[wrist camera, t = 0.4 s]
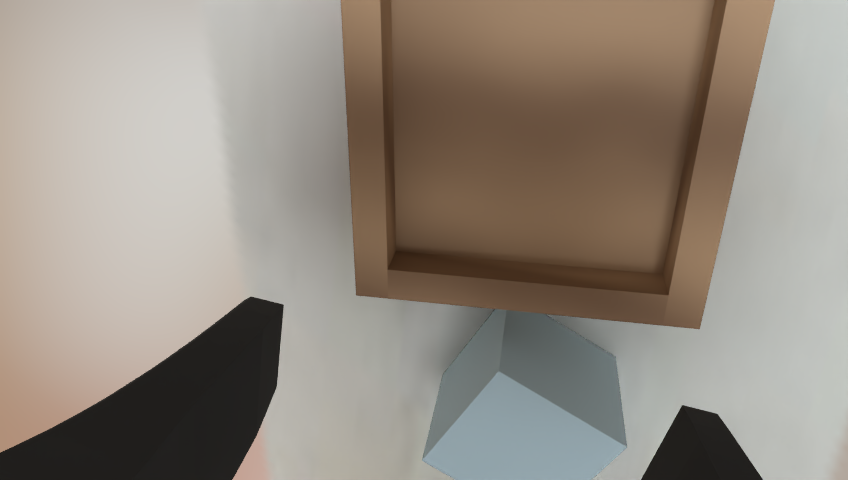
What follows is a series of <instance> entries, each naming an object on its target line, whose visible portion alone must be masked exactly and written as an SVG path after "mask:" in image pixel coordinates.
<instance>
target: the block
mask: <svg viewBox="0 0 848 480" xmlns="http://www.w3.org/2000/svg"><path fill="white" fill-rule="evenodd" d="M626 448H627V443H626V435H625V427H624V419H623V411H622V403H621V395H620V387H619V379H618V372H617V364H616V357H615V356H613V355H611V354H610V353H608V352H606V351H605V350H603V349H601V348H600V347H598V346H596V345H595V344H593V343H592V342H590V341H588V340H587V339H585V338H583V337H582V336H580V335H578V334H577V333H575V332H573V331H572V330H570V329H568V328H567V327H565V326H563V325H562V324H560V323H559V322H557V321H555V320H554V319H552V318H550V317H549V316H547V315H545V314H541V313H531V312H521V311H511V310H501V309H495V310H494V311H493V312H492V314H491V315H490V316H489V318H488V319H487V320H486V321H485V323H484V324H483V325H482V326H481V328H480V329H479V330H478V331H477V333H476V334H475V335H474V336H473V338H472V339H471V340H470V341H469V343H468V344H467V345H466V346H465V348H464V349H463V350H462V351H461V353H460V354H459V355H458V356H457V358H456V359H455V360H454V361H453V363H452V364H451V365H450V366H449V368H448V369H447V370H446V371H445V373H444V374H443V376H442V380H441V384H440V389H439V393H438V397H437V401H436V405H435V409H434V413H433V417H432V422H431V426H430V430H429V434H428V438H427V442H426V446H425V450H424V454H423V459H422V461H424V462H425V463H427V464H429V465H431V466H432V467H434V468H436V469H438V470H439V471H441V472H443V473H445V474H446V475H448V476H450V477H452V478H453V479H455V480H592V479H593V478H594V477H595V476H596V475H597V474H598V473H599V472H600V471H602V470H603V469H604V468H605V467H606V466H607V465H608V464H609V463H610V462H611V461H612V460H614V459H615V458H616V457H617V456H618V455H619V454H620V453H621V452H622V451H623V450H624V449H626Z"/></svg>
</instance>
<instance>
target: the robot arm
mask: <svg viewBox="0 0 848 480" xmlns="http://www.w3.org/2000/svg"><path fill="white" fill-rule="evenodd" d="M283 306H284V305H282V304H278V303H274V302H270V301H267V300H263V299H259V298H255V297H249V298H248V299H246V300H244V301H243V302H242V303H240V304H239V305H238V306H237V307H235V308H234V309H233V310H231V311H230V312H229V313H228V314H227V315H225V316H224V317H222V318H221V319H220V320H219V321H217V322H216V323H215V324H213V325H212V326H211V327H210V328H208V329H207V330H205V331H204V332H203V333H201V334H200V335H199V336H197V337H196V338H195V339H193V340H192V341H191V342H189V343H188V344H187V345H185V346H183V347H182V348H181V349H179V350H178V351H177V352H175V353H174V354H172V355H171V356H170V357H168V358H167V359H165V360H164V361H162V362H161V363H159V364H158V365H157V366H155V367H154V368H152V369H151V370H149V371H147V372H146V373H144V374H143V375H141V376H140V377H138V378H136V379H135V380H133V381H132V382H130V383H129V384H127V385H126V386H124V387H123V388H121V389H119V390H118V391H116V392H115V393H113V394H111V395H110V396H108V397H106V398H105V399H103V400H101V401H100V402H98V403H96V404H95V405H93V406H91V407H89V408H87V409H86V410H84V411H82V412H80V413H79V414H77V415H75V416H73V417H71V418H69V419H68V420H66V421H64V422H62V423H60V424H58V425H56V426H55V427H53V428H51V429H49V430H47V431H45V432H43V433H41V434H38V435H36V436H34V437H32V438H30V439H28V440H26V441H24V442H22V443H20V444H18V445H16V446H14V447H12V448H9V449H7V450H5V451H3V452H1V453H0V480H232V479H233V477H234V476H235V474H236V472H237V470H238V468H239V467H240V465H241V463H242V461H243V459H244V457H245V456H246V454H247V452H248V450H249V448H250V447H251V445H252V443H253V441H254V439H255V438H256V436H257V433H258V431H259V428H260V426H261V424H262V421H263V419H264V417H265V414H266V412H267V409H268V407H269V404H270V402H271V399H272V397H273V394H274V392H275V390H276V387H277V377H278V365H279V353H280V341H281V330H282V318H283ZM641 480H763V479H762V478H761V476H760V475H759V473H758V472H757V470H756V469H755V467H754V466H753V464H752V463H751V462H750V460H749V459H748V457H747V456H746V454H745V453H744V451H743V450H742V448H741V447H740V445H739V444H738V443H737V441H736V440H735V438H734V437H733V435H732V434H731V432H730V431H729V430H728V428H727V427H726V425H725V424H724V422H723V421H722V420H721V418H720V417H719V416H718V414H715V413H711V412H707V411H703V410H699V409H695V408H691V407H688V406H684V405H682V407H681V409H680V411H679V412H678V414H677V416H676V418H675V420H674V421H673V423H672V425H671V427H670V429H669V430H668V432H667V434H666V436H665V438H664V439H663V441H662V443H661V445H660V447H659V448H658V450H657V452H656V454H655V456H654V457H653V459H652V461H651V463H650V465H649V466H648V468H647V470H646V472H645V474H644V475H643V477H642V479H641Z"/></svg>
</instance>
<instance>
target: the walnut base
mask: <svg viewBox="0 0 848 480" xmlns="http://www.w3.org/2000/svg"><path fill="white" fill-rule="evenodd" d="M774 2H775V0H341V12H342V32H343V51H344V70H345V89H346V108H347V128H348V147H349V166H350V185H351V205H352V224H353V243H354V262H355V281H356V295H358V296H369V297H379V298H389V299H399V300H409V301H419V302H430V303H440V304H450V305H460V306H470V307H480V308H490V309H501V310H511V311H521V312H531V313H541V314H551V315H562V316H572V317H582V318H592V319H602V320H612V321H623V322H633V323H643V324H653V325H663V326H673V327H684V328H694V329H700V325H701V321H702V316H703V312H704V308H705V303H706V299H707V295H708V290H709V286H710V281H711V277H712V273H713V268H714V264H715V260H716V255H717V251H718V247H719V242H720V238H721V233H722V229H723V225H724V220H725V216H726V212H727V207H728V203H729V198H730V194H731V190H732V185H733V181H734V177H735V172H736V168H737V164H738V159H739V155H740V150H741V146H742V142H743V137H744V133H745V129H746V124H747V120H748V116H749V111H750V107H751V102H752V98H753V94H754V89H755V85H756V81H757V76H758V72H759V67H760V63H761V59H762V54H763V50H764V46H765V41H766V37H767V33H768V28H769V24H770V19H771V15H772V11H773V6H774Z"/></svg>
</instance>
